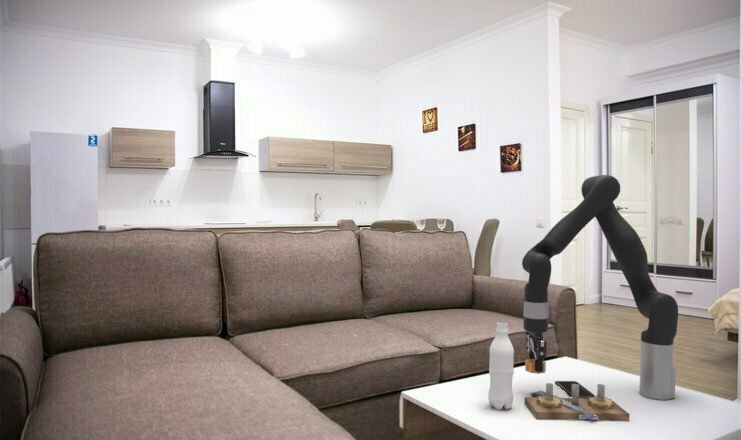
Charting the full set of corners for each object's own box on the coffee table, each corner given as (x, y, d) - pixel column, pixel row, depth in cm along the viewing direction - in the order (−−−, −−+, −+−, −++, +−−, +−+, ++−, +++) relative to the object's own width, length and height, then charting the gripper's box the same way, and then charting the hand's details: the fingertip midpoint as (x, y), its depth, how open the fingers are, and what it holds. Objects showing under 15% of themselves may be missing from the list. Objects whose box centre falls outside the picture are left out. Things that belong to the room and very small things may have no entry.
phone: (571, 396, 166) (553, 380, 181) (571, 399, 166) (553, 384, 181) (596, 396, 166) (576, 381, 181) (596, 400, 166) (576, 384, 181)
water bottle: (496, 400, 163) (498, 319, 162) (517, 407, 158) (519, 323, 157) (483, 406, 158) (485, 322, 157) (504, 413, 153) (506, 327, 152)
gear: (542, 367, 171) (542, 358, 171) (548, 373, 164) (548, 364, 164) (522, 367, 171) (522, 358, 171) (528, 373, 164) (528, 364, 164)
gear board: (610, 405, 161) (610, 379, 160) (629, 421, 149) (630, 392, 148) (524, 403, 161) (525, 377, 161) (536, 419, 149) (537, 390, 149)
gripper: (555, 320, 160) (555, 375, 160) (540, 311, 174) (540, 361, 175) (530, 320, 160) (530, 375, 160) (517, 311, 174) (517, 361, 175)
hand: (535, 368), depth 168 cm, fingers closed on gear, 6 cm apart
